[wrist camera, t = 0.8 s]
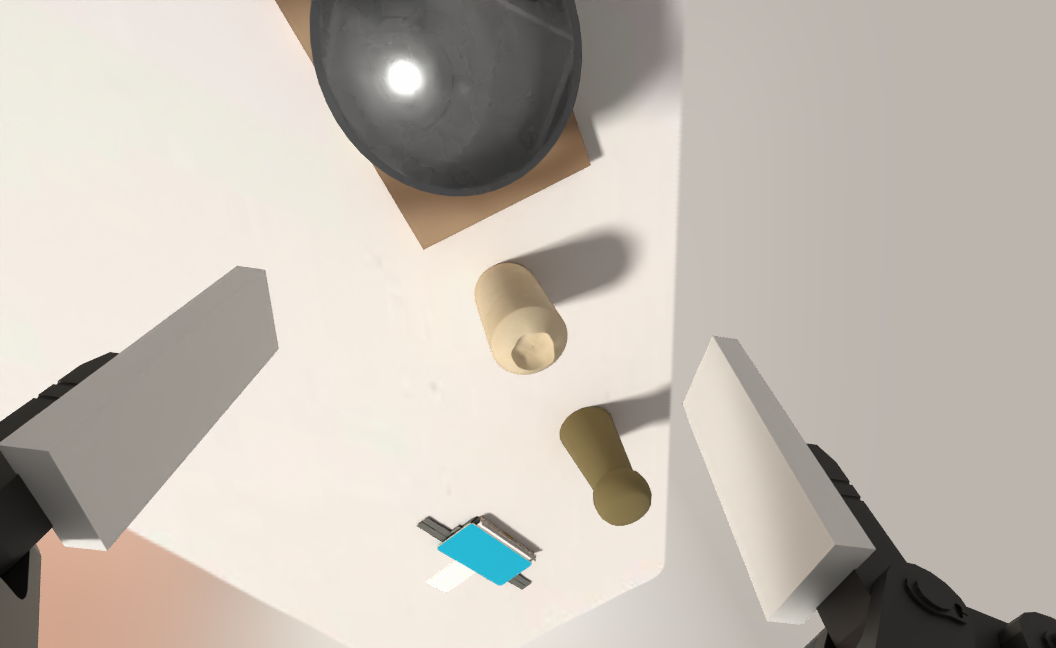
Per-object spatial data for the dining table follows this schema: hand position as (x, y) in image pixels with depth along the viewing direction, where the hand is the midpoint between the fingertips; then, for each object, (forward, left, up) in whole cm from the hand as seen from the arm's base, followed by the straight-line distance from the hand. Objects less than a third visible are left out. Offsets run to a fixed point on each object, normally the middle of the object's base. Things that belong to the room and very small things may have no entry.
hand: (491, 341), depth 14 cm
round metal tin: (-7, +4, -22) cm, 23 cm away
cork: (+29, +2, -23) cm, 37 cm away
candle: (+10, +1, -23) cm, 25 cm away
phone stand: (+40, -17, -24) cm, 50 cm away
